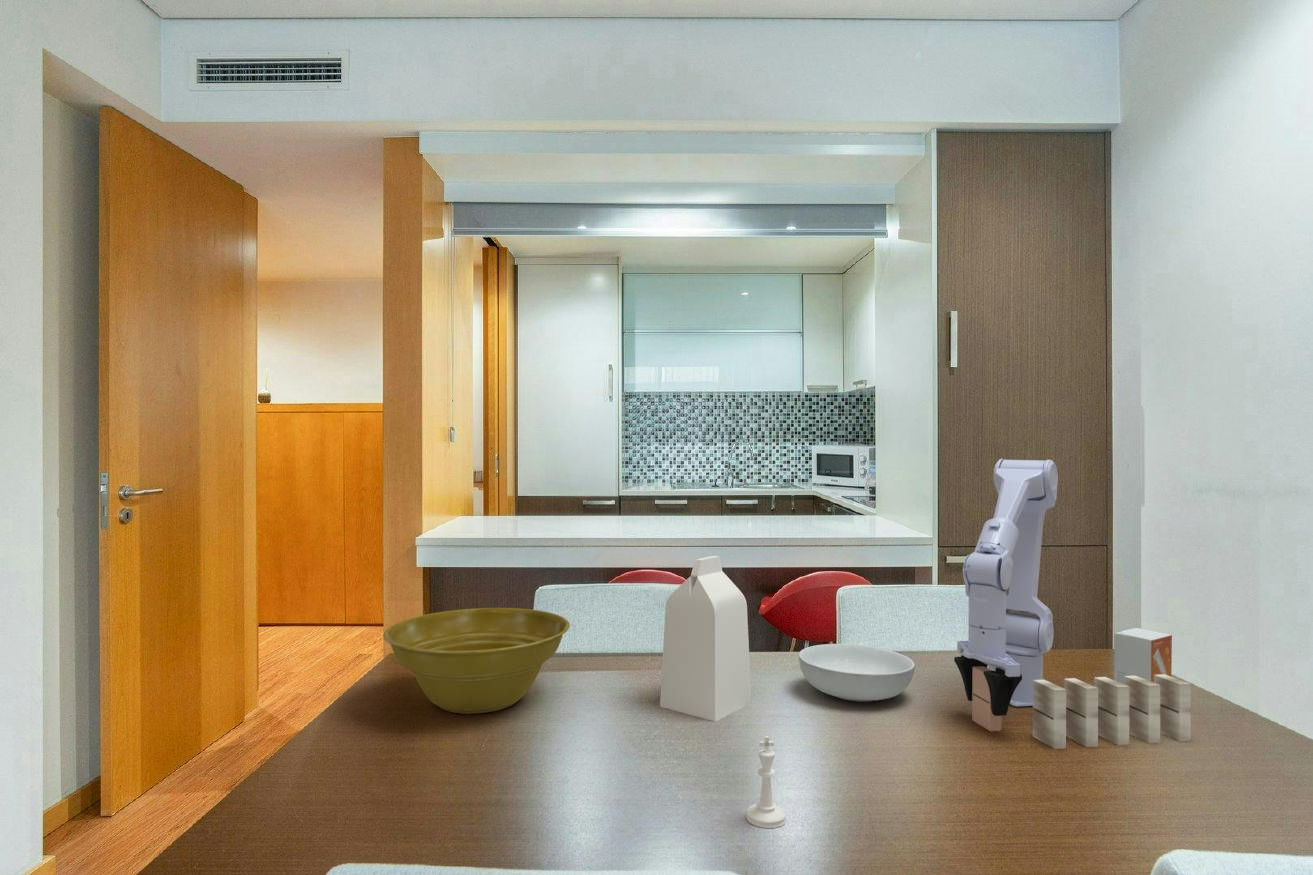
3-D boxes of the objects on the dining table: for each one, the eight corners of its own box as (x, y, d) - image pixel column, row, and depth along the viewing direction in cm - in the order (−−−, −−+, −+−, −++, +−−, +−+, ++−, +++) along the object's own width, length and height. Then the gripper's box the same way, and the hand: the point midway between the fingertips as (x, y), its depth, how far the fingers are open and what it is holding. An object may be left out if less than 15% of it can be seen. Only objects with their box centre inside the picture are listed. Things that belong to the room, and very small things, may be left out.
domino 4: (1124, 731, 123) (1124, 676, 123) (1135, 730, 123) (1135, 675, 123) (1148, 743, 118) (1148, 685, 118) (1160, 742, 118) (1160, 685, 118)
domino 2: (1063, 734, 121) (1063, 678, 121) (1074, 734, 121) (1075, 678, 121) (1086, 747, 116) (1086, 688, 116) (1097, 746, 116) (1098, 688, 116)
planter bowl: (341, 724, 122) (342, 641, 122) (443, 668, 153) (443, 602, 153) (525, 745, 114) (526, 656, 114) (593, 681, 145) (593, 612, 146)
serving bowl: (931, 714, 129) (931, 674, 129) (809, 712, 130) (809, 672, 130) (895, 677, 150) (895, 643, 150) (790, 676, 150) (790, 641, 151)
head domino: (972, 720, 127) (972, 666, 127) (983, 719, 127) (983, 666, 127) (989, 731, 122) (990, 675, 122) (1001, 730, 122) (1001, 675, 122)
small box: (1151, 715, 130) (1151, 639, 130) (1112, 704, 135) (1113, 632, 136) (1172, 706, 135) (1172, 634, 135) (1134, 696, 140) (1134, 626, 140)
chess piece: (742, 809, 95) (743, 729, 95) (780, 808, 95) (781, 728, 95) (750, 828, 90) (751, 745, 90) (790, 827, 90) (791, 744, 90)
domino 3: (1094, 732, 122) (1094, 677, 122) (1105, 732, 122) (1105, 676, 122) (1117, 745, 117) (1117, 687, 117) (1129, 744, 117) (1129, 686, 117)
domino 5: (1153, 729, 123) (1153, 674, 124) (1164, 728, 124) (1164, 674, 124) (1179, 741, 118) (1179, 684, 119) (1190, 740, 119) (1190, 683, 119)
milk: (715, 721, 125) (716, 565, 125) (659, 706, 132) (661, 558, 132) (751, 702, 134) (752, 557, 135) (698, 689, 141) (699, 551, 142)
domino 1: (1032, 736, 120) (1032, 680, 120) (1044, 735, 120) (1044, 679, 120) (1054, 748, 115) (1054, 690, 115) (1066, 748, 115) (1066, 689, 115)
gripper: (941, 616, 131) (940, 694, 131) (991, 637, 117) (990, 724, 117) (978, 615, 132) (977, 692, 132) (1032, 635, 118) (1031, 722, 118)
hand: (986, 707), depth 125 cm, fingers open, 6 cm apart
